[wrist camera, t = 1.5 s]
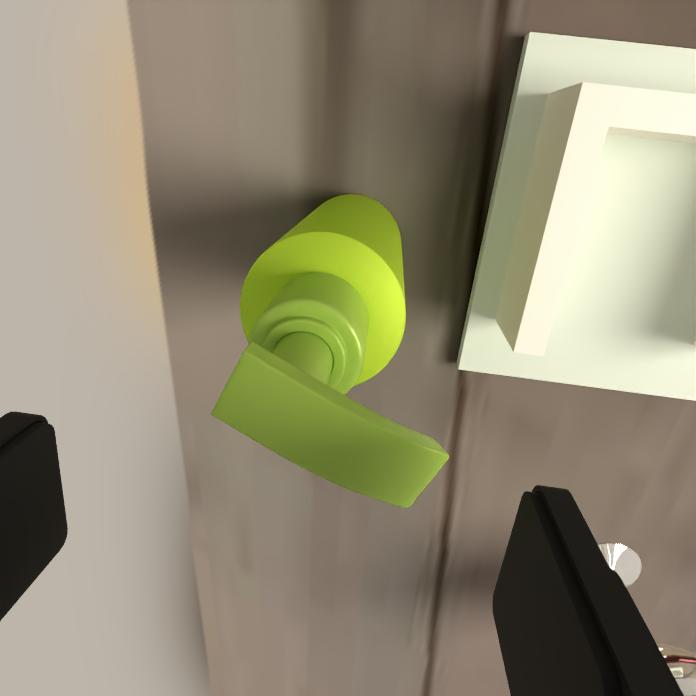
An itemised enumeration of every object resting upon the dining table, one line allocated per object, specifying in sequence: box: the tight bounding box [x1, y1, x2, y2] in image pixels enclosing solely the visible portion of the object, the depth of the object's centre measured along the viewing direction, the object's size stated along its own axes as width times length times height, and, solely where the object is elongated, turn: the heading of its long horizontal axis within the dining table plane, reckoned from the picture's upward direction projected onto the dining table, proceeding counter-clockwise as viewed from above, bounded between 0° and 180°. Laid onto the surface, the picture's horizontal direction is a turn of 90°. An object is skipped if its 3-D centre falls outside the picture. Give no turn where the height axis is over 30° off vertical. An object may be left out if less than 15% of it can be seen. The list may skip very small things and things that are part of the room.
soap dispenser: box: [211, 194, 449, 508], centre depth 20 cm, size 6×7×20 cm
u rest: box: [457, 32, 696, 401], centre depth 25 cm, size 18×16×6 cm
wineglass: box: [598, 543, 696, 696], centre depth 31 cm, size 7×7×12 cm
